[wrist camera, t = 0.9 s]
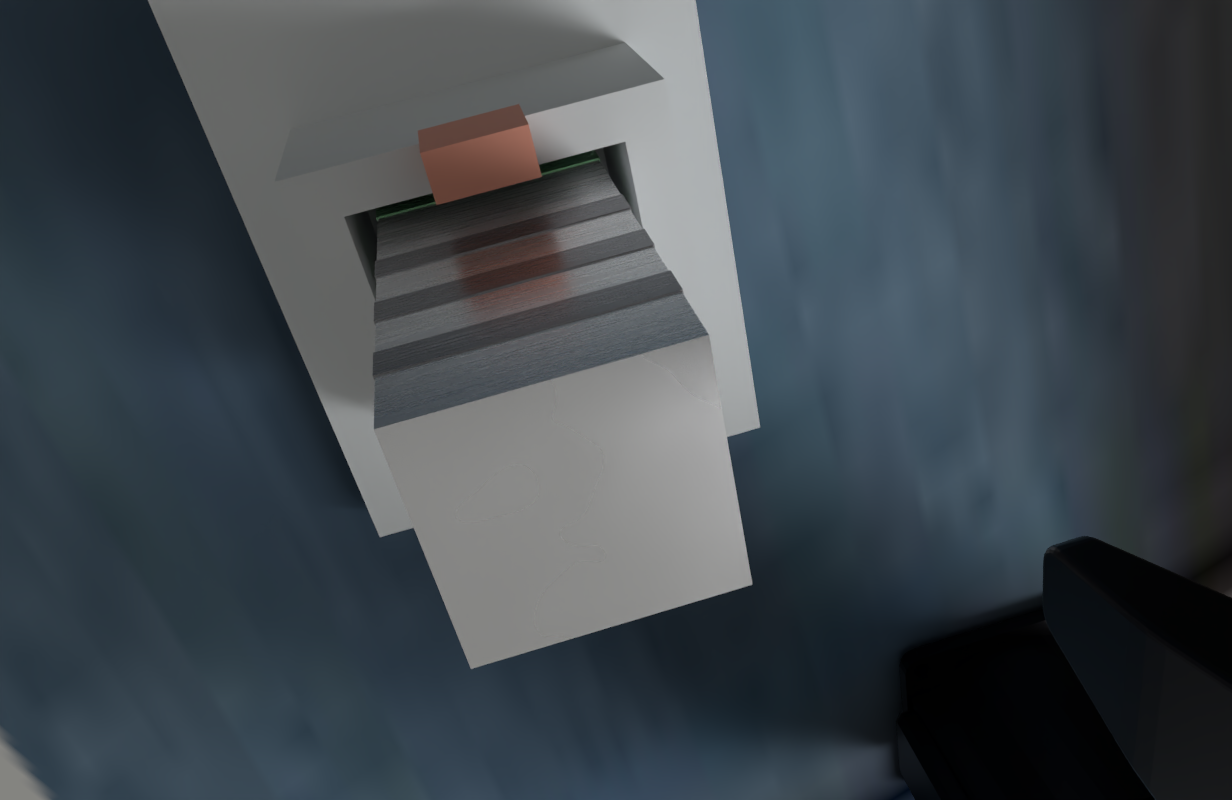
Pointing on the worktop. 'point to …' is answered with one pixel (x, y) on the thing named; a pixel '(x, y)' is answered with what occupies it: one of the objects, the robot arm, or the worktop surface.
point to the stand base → (449, 154)
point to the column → (550, 412)
